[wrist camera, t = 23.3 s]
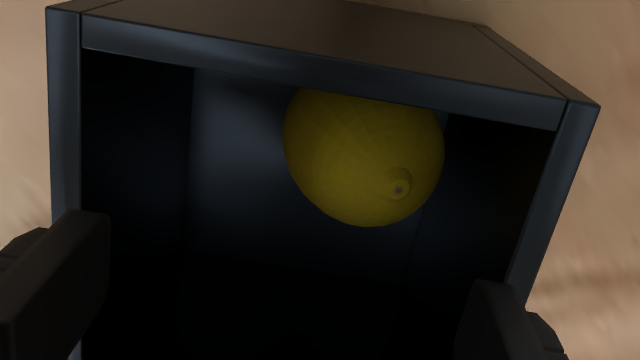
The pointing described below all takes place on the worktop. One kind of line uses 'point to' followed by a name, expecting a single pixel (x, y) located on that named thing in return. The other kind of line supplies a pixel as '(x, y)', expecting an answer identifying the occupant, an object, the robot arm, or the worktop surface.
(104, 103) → the bin
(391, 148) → the lemon
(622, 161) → the worktop surface
